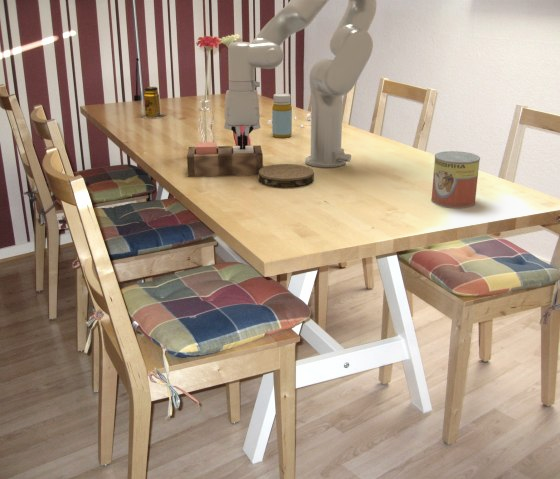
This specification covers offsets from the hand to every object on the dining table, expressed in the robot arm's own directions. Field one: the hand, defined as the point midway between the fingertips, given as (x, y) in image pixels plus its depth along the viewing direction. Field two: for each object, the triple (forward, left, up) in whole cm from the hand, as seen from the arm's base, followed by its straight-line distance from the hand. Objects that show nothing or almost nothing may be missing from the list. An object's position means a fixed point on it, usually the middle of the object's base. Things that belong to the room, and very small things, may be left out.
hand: (242, 148), depth 208 cm
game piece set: (+27, -66, -7) cm, 71 cm away
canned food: (-64, -8, -7) cm, 65 cm away
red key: (+8, +7, -4) cm, 11 cm away
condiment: (+82, -45, -7) cm, 94 cm away
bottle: (+17, -45, -7) cm, 48 cm away
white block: (0, 0, -5) cm, 5 cm away
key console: (+4, +3, -7) cm, 9 cm away
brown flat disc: (-17, +1, -7) cm, 18 cm away
